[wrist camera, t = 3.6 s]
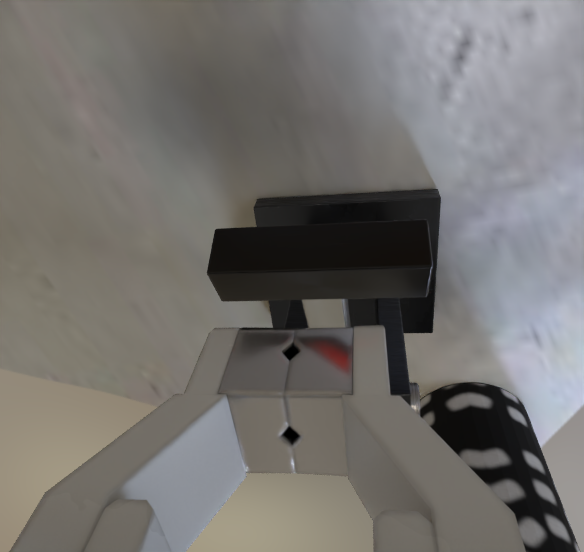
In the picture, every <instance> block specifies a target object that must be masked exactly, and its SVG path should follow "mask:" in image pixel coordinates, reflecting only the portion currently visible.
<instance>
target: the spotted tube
mask: <svg viewBox="0 0 584 552" xmlns="http://www.w3.org/2000/svg"><path fill="white" fill-rule="evenodd" d="M420 417H421V418H422V419H423V420H424V421H425V422H426V423H427V424H428V425H429V426H430V427H431V428H432V429H433V430H434V431H435V432H436V433H437V434H438V435H439V436H440V437H441V438H442V439H443V440H444V441H445V442H446V444H447V445H448V446H449V447H450V448H451V449H452V450H453V451H454V452H455V453H456V454H457V455H458V456H459V457H460V458H461V459H462V460H463V461H464V462H465V463H466V464H467V465H468V466H469V467H470V468H471V469H472V470H473V471H474V472H475V473H476V474H477V475H478V476H479V478H480V479H481V480H482V481H483V482H484V483H485V484H486V485H487V486H488V487H489V488H490V489H491V490H492V491H493V492H494V493H495V494H496V495H497V496H498V497H499V498H500V499H501V500H502V501H503V502H504V503H505V504H506V505H507V506H508V507H509V508H510V509H511V510H512V511H513V513H514V514H515V517H516V520H517V524H518V527H519V530H520V534H521V537H522V540H523V544H524V547H525V551H526V552H580V549H579V547H578V545H577V542H576V539H575V536H574V534H573V531H572V529H571V526H570V523H569V521H568V518H567V516H566V513H565V511H564V508H563V505H562V503H561V500H560V497H559V495H558V492H557V490H556V487H555V485H554V482H553V479H552V477H551V474H550V472H549V469H548V466H547V464H546V461H545V459H544V456H543V453H542V451H541V448H540V445H539V443H538V440H537V438H536V435H535V432H534V430H533V427H532V425H531V422H530V419H529V417H528V414H527V412H526V410H525V407H524V405H523V404H522V403H521V402H520V401H519V399H518V398H516V397H515V396H514V395H512V394H511V393H509V392H507V391H505V390H503V389H501V388H498V387H495V386H491V385H486V384H478V383H464V384H457V385H451V386H448V387H444V388H441V389H439V390H437V391H434V392H432V393H430V394H429V395H427V396H426V397H424V398H423V399H422V400H421V401H420Z"/></svg>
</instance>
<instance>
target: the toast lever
mask: <svg viewBox="0 0 584 552" xmlns="http://www.w3.org/2000/svg"><path fill="white" fill-rule="evenodd" d="M432 269H433V262H432V253H431V245H430V236H429V228H428V221H427V220H426V219H421V220H399V221H377V222H355V223H334V224H312V225H290V226H268V227H246V228H224V229H216V230H215V233H214V238H213V244H212V249H211V254H210V259H209V265H208V270H207V275H208V276H209V278H210V280H211V282H212V284H213V286H214V287H215V289H216V291H217V293H218V295H219V297H220V299H221V300H222V301H269V300H301V301H302V305H303V308H304V312H305V316H306V320H307V324H308V327H309V328H336V327H351V326H350V316H349V306H348V299H365V298H414V297H427V296H428V292H429V286H430V280H431V274H432Z"/></svg>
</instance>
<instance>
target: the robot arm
mask: <svg viewBox="0 0 584 552" xmlns="http://www.w3.org/2000/svg"><path fill="white" fill-rule="evenodd" d="M246 473H301V474H317V475H318V474H319V475H334V476H348V479H349V481H350V483H351V484H352V486H353V488H354V489H355V491H356V493H357V495H358V496H359V498H360V499H361V501H362V503H363V505H364V506H365V508H366V510H367V511H368V513H369V515H370V517H371V518H372V520H373V533H374V534H373V539H374V552H526V551H525V547H524V544H523V540H522V537H521V534H520V530H519V527H518V524H517V520H516V517H515V514H514V513H513V511H512V510H511V509H510V508H509V507H508V506H507V505H506V504H505V503H504V502H503V501H502V500H501V499H500V498H499V497H498V496H497V495H496V494H495V493H494V492H493V491H492V490H491V489H490V488H489V487H488V486H487V485H486V484H485V483H484V482H483V481H482V480H481V479H480V478H479V476H478V475H477V474H476V473H475V472H474V471H473V470H472V469H471V468H470V467H469V466H468V465H467V464H466V463H465V462H464V461H463V460H462V459H461V458H460V457H459V456H458V455H457V454H456V453H455V452H454V451H453V450H452V449H451V448H450V447H449V446H448V445H447V444H446V442H445V441H444V440H443V439H442V438H441V437H440V436H439V435H438V434H437V433H436V432H435V431H434V430H433V429H432V428H431V427H430V426H429V425H428V424H427V423H426V422H425V421H424V420H423V419H422V418H421V417H420V416H419V415H418V414H417V413H416V412H415V411H414V410H413V409H412V407H411V406H410V405H409V404H408V403H407V402H406V401H405V400H404V399H403V398H402V397H401V396H392V395H390V384H389V372H388V360H387V348H386V336H385V328H384V326H383V325H371V326H354V331H353V327H336V328H214V329H213V330H212V331H210V333H209V334H208V337H207V339H206V342H205V344H204V346H203V349H202V351H201V354H200V356H199V358H198V361H197V363H196V366H195V368H194V371H193V373H192V375H191V378H190V380H189V383H188V385H187V387H186V390H185V392H184V394H175V395H173V396H172V397H171V398H170V399H168V400H167V401H166V402H164V403H163V404H162V405H160V406H159V407H158V408H156V409H155V410H154V411H153V412H151V413H150V414H148V415H147V416H146V417H144V418H143V419H142V420H141V421H139V422H138V423H136V424H135V425H134V426H133V427H131V428H130V429H129V430H127V431H126V432H125V433H123V434H122V435H121V436H119V437H118V438H117V439H115V440H114V441H113V442H111V443H110V444H109V445H107V446H106V447H105V448H103V449H102V450H101V451H100V452H98V453H97V454H96V455H94V456H93V457H92V458H90V459H89V460H88V461H86V462H85V463H84V464H82V465H81V466H80V467H78V468H77V469H76V470H74V471H73V472H72V473H70V474H69V475H68V476H67V477H65V478H64V479H63V480H61V481H60V482H59V483H57V484H56V485H55V486H53V487H52V488H51V489H50V490H48V491H47V492H45V494H44V495H43V497H42V499H41V501H40V502H39V504H38V505H37V507H36V509H35V510H34V512H33V514H32V515H31V517H30V519H29V520H28V522H27V524H26V525H25V527H24V529H23V530H22V532H21V534H20V535H19V537H18V539H17V540H16V542H15V543H14V545H13V547H12V548H11V550H10V552H186V551H187V549H188V548H189V547H190V546H191V544H192V543H193V542H194V541H195V539H196V538H197V537H198V536H199V534H200V533H201V532H202V531H203V529H204V528H205V527H206V526H207V524H208V523H209V522H210V521H211V520H212V518H213V517H214V516H215V515H216V513H217V512H218V511H219V510H220V508H221V507H222V506H223V505H224V504H225V502H226V501H227V500H228V499H229V497H230V496H231V495H232V494H233V492H234V491H235V490H236V489H237V487H238V486H239V485H240V484H241V483H242V481H243V480H244V479H245V477H246Z"/></svg>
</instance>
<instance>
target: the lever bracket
mask: <svg viewBox="0 0 584 552" xmlns="http://www.w3.org/2000/svg"><path fill="white" fill-rule="evenodd" d="M440 203H441V197H440V195H439V192H438V189H432V190H414V191H396V192H378V193H360V194H342V195H323V196H305V197H287V198H269V199H257V201H256V204H255V206H254V213H255V219H256V225H257V227H268V226H290V225H312V224H334V223H355V222H377V221H399V220H421V219H426V220H427V221H428V228H429V236H430V245H431V253H432V262H433V269H432V274H431V280H430V286H429V292H428V296H427V297H414V298H365V299H348V306H349V316H350V326H351V327H353V331H354V326H371V325H383V326H384V328H385V336H386V348H387V360H388V372H389V384H390V395H392V396H401V397H402V398H403V399H404V400H405V401H406V402H407V403H408V404H409V405H410V406H411V407H412V409H413V410H414V411H415V412H416V413H417V414H418V415H419V416H420V394H419V386H418V384H417V383H409V375H408V367H407V359H406V351H405V343H404V335H403V333H432V332H433V319H434V302H435V286H436V269H437V253H438V236H439V219H440ZM269 305H270V311H271V317H272V324H273V328H309V327H308V324H307V320H306V316H305V312H304V308H303V305H302V301H301V300H269Z"/></svg>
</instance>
